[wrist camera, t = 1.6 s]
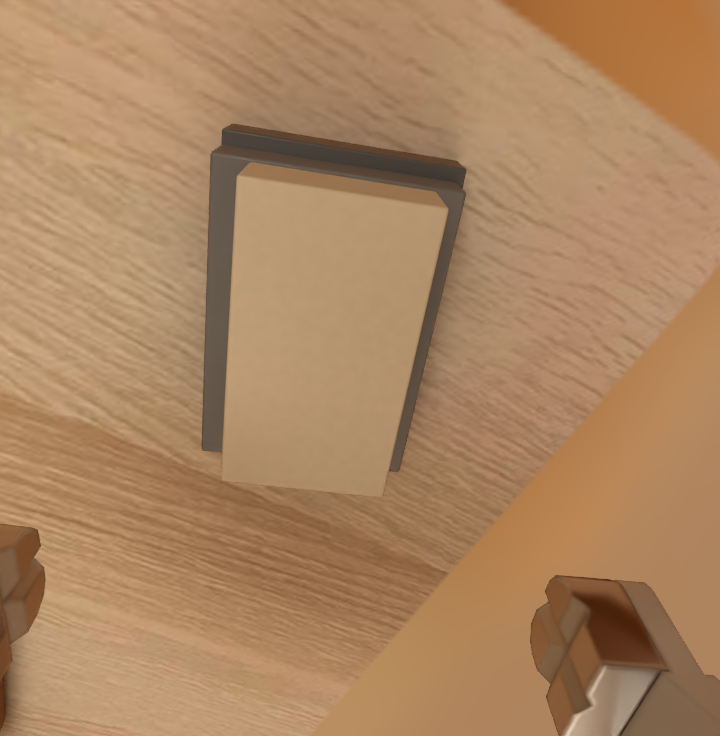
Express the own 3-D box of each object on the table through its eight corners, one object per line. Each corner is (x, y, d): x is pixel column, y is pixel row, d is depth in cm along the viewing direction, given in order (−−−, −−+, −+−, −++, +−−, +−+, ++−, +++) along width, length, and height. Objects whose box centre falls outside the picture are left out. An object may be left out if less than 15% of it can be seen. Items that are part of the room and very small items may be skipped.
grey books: (231, 123, 17) (210, 134, 14) (458, 160, 17) (478, 178, 15) (218, 403, 21) (200, 451, 19) (397, 424, 22) (404, 473, 20)
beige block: (249, 161, 14) (236, 174, 13) (437, 191, 15) (449, 208, 13) (231, 442, 19) (220, 481, 17) (379, 459, 19) (382, 499, 17)
